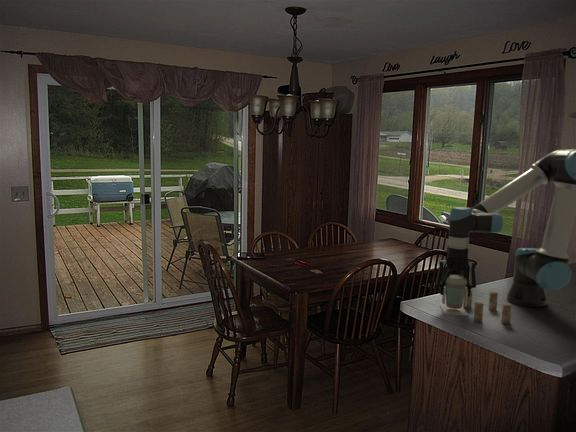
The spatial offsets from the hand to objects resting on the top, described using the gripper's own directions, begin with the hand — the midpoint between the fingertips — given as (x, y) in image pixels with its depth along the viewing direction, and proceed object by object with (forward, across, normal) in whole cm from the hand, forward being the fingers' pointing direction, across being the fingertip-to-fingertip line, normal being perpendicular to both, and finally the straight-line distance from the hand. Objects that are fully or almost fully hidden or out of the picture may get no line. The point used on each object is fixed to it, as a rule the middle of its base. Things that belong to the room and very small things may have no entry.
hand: (454, 303), depth 190 cm
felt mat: (+3, 0, 0) cm, 3 cm away
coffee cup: (+1, 0, 0) cm, 1 cm away
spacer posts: (+3, -11, +2) cm, 12 cm away
